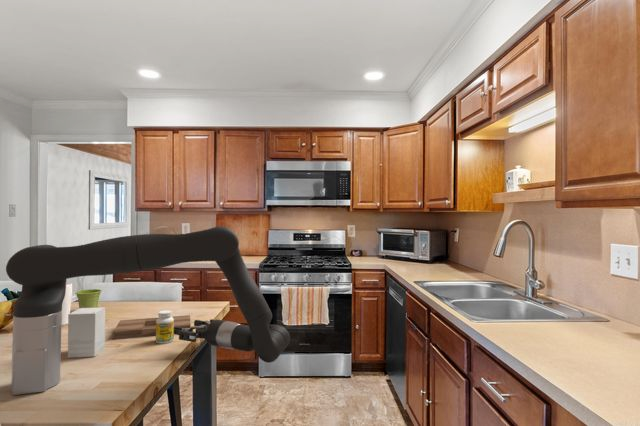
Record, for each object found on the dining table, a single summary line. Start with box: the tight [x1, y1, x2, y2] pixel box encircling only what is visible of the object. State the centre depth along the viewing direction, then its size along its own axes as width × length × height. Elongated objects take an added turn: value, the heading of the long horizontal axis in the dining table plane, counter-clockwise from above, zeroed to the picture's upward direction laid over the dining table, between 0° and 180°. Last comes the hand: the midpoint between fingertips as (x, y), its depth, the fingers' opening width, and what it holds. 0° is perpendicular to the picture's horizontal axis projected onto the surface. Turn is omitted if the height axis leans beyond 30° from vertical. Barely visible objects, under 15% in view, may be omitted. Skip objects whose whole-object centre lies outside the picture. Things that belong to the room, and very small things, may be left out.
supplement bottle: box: [155, 310, 175, 345], centre depth 119 cm, size 5×5×10 cm
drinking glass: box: [61, 282, 73, 327], centre depth 135 cm, size 7×7×15 cm
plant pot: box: [75, 288, 103, 309], centre depth 154 cm, size 9×9×9 cm
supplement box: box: [67, 307, 106, 359], centre depth 108 cm, size 7×7×13 cm
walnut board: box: [112, 314, 192, 340], centre depth 131 cm, size 14×24×2 cm, turn 110°
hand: (184, 326), depth 115 cm, fingers open, 8 cm apart
